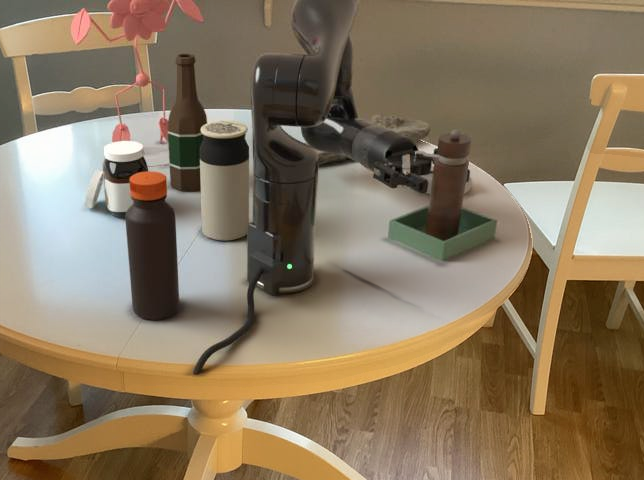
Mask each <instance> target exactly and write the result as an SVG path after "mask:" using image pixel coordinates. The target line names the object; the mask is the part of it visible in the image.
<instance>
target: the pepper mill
mask: <svg viewBox="0 0 644 480" xmlns="http://www.w3.org/2000/svg"><path fill="white" fill-rule="evenodd" d="M471 144H472V138H471V137H470V136H469V135H466V134H463V133H462V132H461V130H460V129H458V128H457V129H455V128H454V129H452V130H451V131H450V133H443V134H441V135H439V137H438V143H437V148H438V149H437V154H438V155H439V156H438V157H437V158H436V159H435V161H434V164H433V167H434V169H433V177H432V184H431V192H430V195H429V200H428V205H429V207H428V215H427V222H426V230H425V234H428V235H430V236H433V237H435V238H437V239H440V240H442V241H445V240H448V239H450V238H452V237H454V236H457V235H458V231H459V224H460V218H461V211H462V207H463V204H464V197H465V194H464V192H465V185H466V179H467V173H468V169H469V166H470V161H469V159H467V157H469V155H470V151H471Z"/></svg>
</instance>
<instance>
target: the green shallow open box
mask: <svg viewBox="0 0 644 480" xmlns="http://www.w3.org/2000/svg"><path fill="white" fill-rule="evenodd" d="M428 207H429V204H428V205H425V206H422V207H421V208H418V209H414V210H413V211H410V212H408V213H405V214H402V215H400V216H398V217H394V218H392V219H390V220H389V224H388V233H387V238H388V239H390V240H393V241H395V242H398V243H400V244H402V245H403V246H406V247H409V248H411V249H413V250H415V251H418V252H420V253H422V254H424V255H426V256H429V257H432V258H434V259H436V260H437V261H440V262H443V261H445V260H447V259H449V258H452V257H455V256H456V255H458V254H461V253H463V252H465V251H467V250H469V249H472V248H474V247H476V246H479V245H481V244H483V243H486V242H487V241H490V240H492V239H494V238H495V237H496V230H497V225H498V220H497V219H495V218H493V217H490V216H487V215H485V214H481V213H479V212H477V211H474V210H471V209H469V208H466V207H463V206H462V211H461V218H460V224H459V231H458V235H457V236H454V237H452V238H450V239H448V240H445V241H442V240H440V239H437V238H435V237H433V236H430V235H428V234H425V230H426V222H427V215H428Z"/></svg>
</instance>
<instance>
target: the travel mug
mask: <svg viewBox="0 0 644 480" xmlns="http://www.w3.org/2000/svg"><path fill="white" fill-rule="evenodd" d="M248 129H249V128H248V126H247V124H244V123H242V122H239V121H235V120H216V121H211V122H207V124H205V125H203V126H202V127H201V133H202V134H203V139H204V140H203V142H202V144H201V146H200V178H201V190H200V209H201V232H202V234H203V235H204V236H205V237H207V238H210V239H212V240H215V241H225V242H227V241H228V242H229V241H234V240H238V239H240V238H243V237H245V236H246V235H247V226H248V224H249V223H250V145H249V144H248V142H247V140H246V136H247V133H248Z"/></svg>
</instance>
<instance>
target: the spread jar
mask: <svg viewBox="0 0 644 480" xmlns="http://www.w3.org/2000/svg"><path fill="white" fill-rule="evenodd" d="M103 151H104V152H103V153H104V159H103V161H102V170H100V169H95V170H94V173H93V175H92V176H91V180H90V182H89V185H88V188H87V191H86V195H85V201H84V206H85V207H86V208H90V209H93V208H95V206H96V204H97V201H98V199H99V196H100V193H101V190H102V187H103V189H104V198H105V204H106V209H107V211H108V213H109V214H110V215H112V216H114V217H117V218H123V219H125V214H126V212H127V210H128V209H129V208H130V206H131V205H132V204H133V200H132V199H131V194H130V182H129V179H130V177H131V176H132V175H134V174H136V173H140V172H147V171H149V167H147V166H148V163H147V161H146V159H145V157H144V154H145V153H144V152H145V150H144V145H143V144H142V143H140V142H138V141H134V140H133V141H132V140H130V141H118V142H113V143H112V142H111V143H108V144H106V145H105V146H104V147H103Z"/></svg>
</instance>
